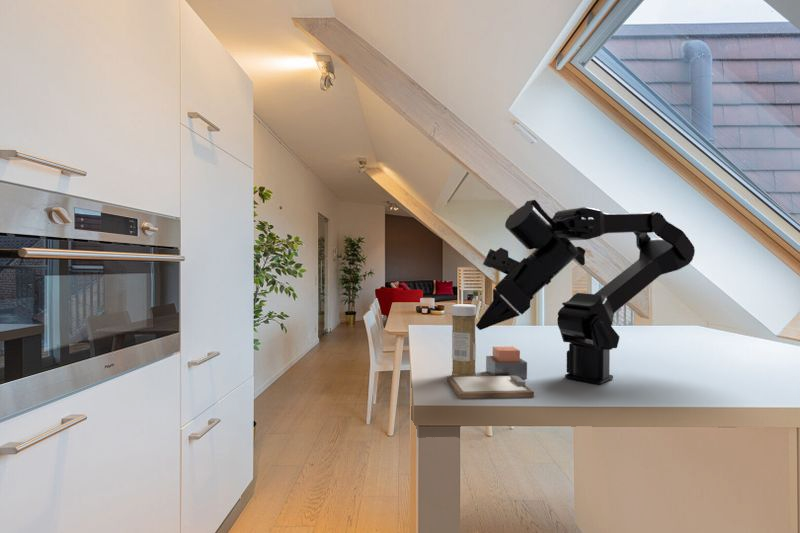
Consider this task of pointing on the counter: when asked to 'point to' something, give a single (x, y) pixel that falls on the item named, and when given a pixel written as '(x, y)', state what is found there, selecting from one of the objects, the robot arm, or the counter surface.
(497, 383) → the clipboard
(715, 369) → the counter surface
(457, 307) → the sprinkles bottle
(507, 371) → the button housing
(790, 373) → the counter surface
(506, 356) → the button
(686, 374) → the counter surface
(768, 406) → the counter surface
